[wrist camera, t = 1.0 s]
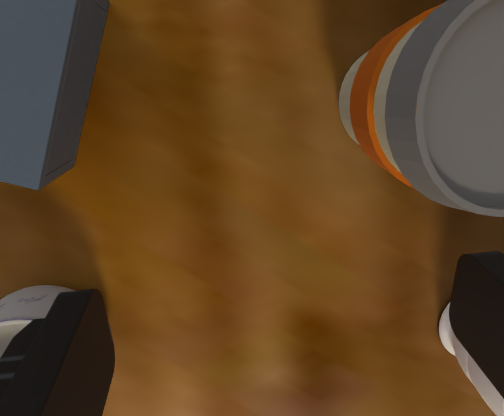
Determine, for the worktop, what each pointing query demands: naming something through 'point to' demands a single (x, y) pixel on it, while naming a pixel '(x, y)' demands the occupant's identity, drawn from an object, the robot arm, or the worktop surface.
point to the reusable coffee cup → (436, 104)
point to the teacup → (25, 309)
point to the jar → (470, 366)
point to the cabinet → (45, 84)
